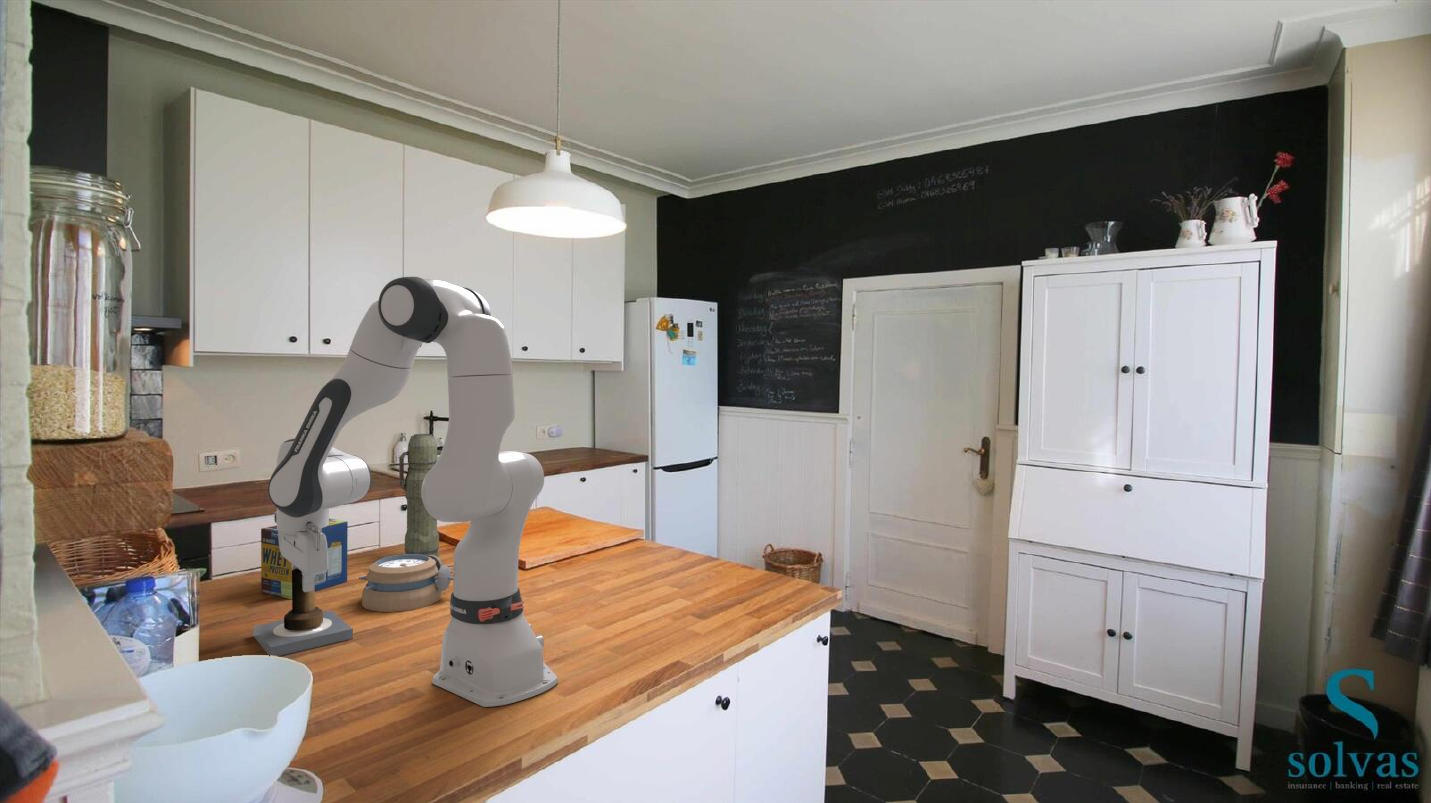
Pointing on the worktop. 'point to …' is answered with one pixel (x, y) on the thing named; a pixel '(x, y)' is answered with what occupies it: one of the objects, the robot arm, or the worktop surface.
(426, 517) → the thermos
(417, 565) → the alarm clock
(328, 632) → the slate plate
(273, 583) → the protein box
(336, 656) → the worktop surface
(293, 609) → the brown tall post-shaped piece
